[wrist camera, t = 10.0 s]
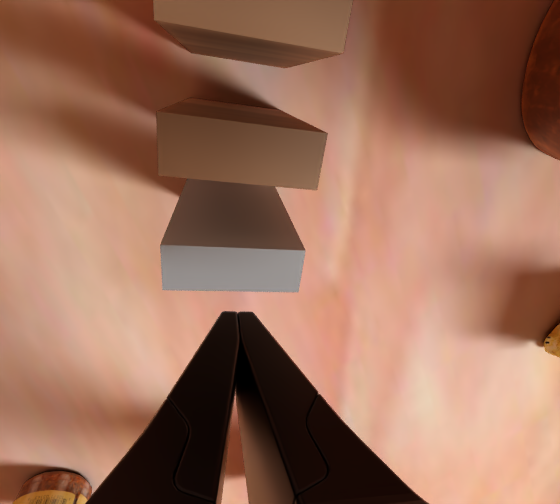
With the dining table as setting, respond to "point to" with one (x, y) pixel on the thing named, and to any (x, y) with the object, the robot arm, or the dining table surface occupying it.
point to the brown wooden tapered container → (544, 86)
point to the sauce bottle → (55, 489)
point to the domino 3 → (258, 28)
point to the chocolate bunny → (553, 342)
